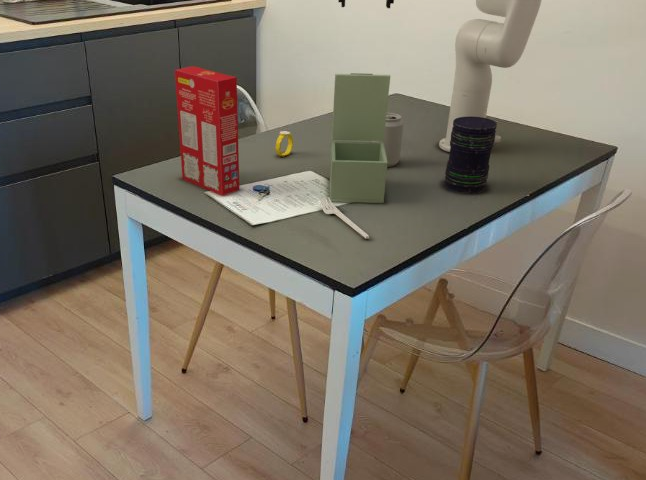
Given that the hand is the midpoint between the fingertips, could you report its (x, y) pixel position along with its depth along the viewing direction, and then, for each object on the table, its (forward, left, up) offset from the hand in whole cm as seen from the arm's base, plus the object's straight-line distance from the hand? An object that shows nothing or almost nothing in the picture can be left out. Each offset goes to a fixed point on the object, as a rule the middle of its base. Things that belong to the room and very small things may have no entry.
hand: (365, 6), depth 150 cm
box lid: (0, +3, -20) cm, 21 cm away
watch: (+18, -15, -38) cm, 44 cm away
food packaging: (+34, +8, -38) cm, 51 cm away
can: (-8, -11, -38) cm, 40 cm away
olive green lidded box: (0, +9, -38) cm, 39 cm away
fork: (+3, +27, -38) cm, 47 cm away
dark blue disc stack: (-26, +4, -38) cm, 46 cm away
